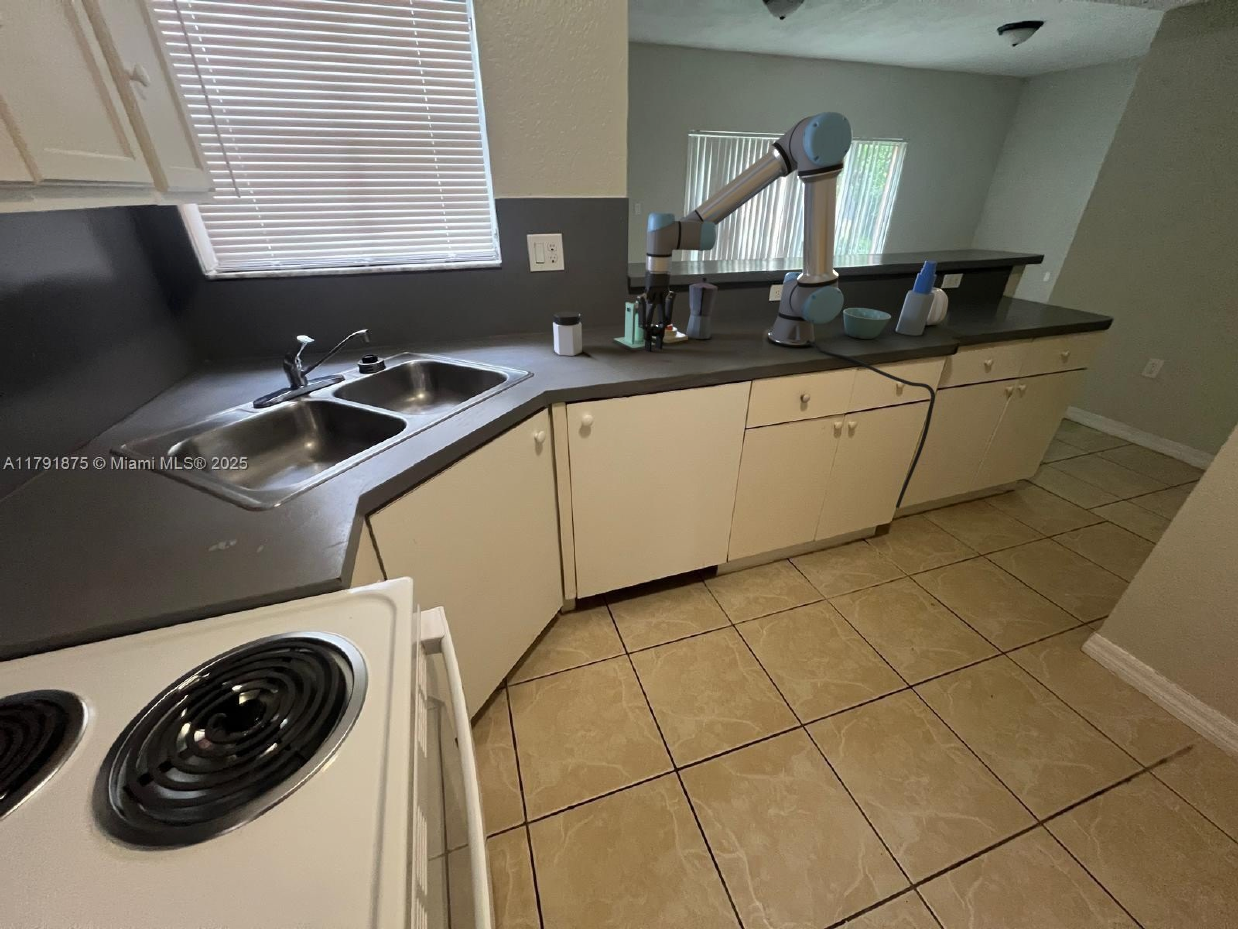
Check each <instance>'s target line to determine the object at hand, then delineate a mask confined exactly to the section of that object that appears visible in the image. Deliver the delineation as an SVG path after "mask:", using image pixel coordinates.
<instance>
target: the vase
mask: <svg viewBox="0 0 1238 929" xmlns="http://www.w3.org/2000/svg"><path fill="white" fill-rule="evenodd" d="M931 292H933V293H935V295H934V296H935V297H934V300H933V303H932V306H931V309H930V312H929V315H928V318H927V321H926V324H925V326H935V325H937V324H939V323H941V322H942V321H944V320H945V317H946V315H947V311H948V307H949V297H948V295H947V294H946V292H945V291H944V290H942V289H941V288H939V287H933V288H932V291H931Z"/></svg>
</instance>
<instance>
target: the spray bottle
mask: <svg viewBox="0 0 1238 929" xmlns="http://www.w3.org/2000/svg"><path fill="white" fill-rule="evenodd" d="M937 265H938V261H935V260H925V261H924V264H923V267H922V268H921V270H920V272H918V273H917V275H916V279H915V282H914V285H913V287H912V288H913V289H910V290H908V292H907V293H906V295H905V299H904V302H903V306H902V309H901V312H900V315H899V319H898V322H897V326H896V328H895V332H896V333H898V334H902V335H906V336H921V335H923V332H924V330H925V326H926V325H925V324H926V321H927V318H928V315H929V312H930V309H931V306H932V303H933V300H934V297H935V296H934V295H935V293H933V292H931V291H932V288H934V285H935V282H936V279H937V274H936V271H937Z"/></svg>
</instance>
